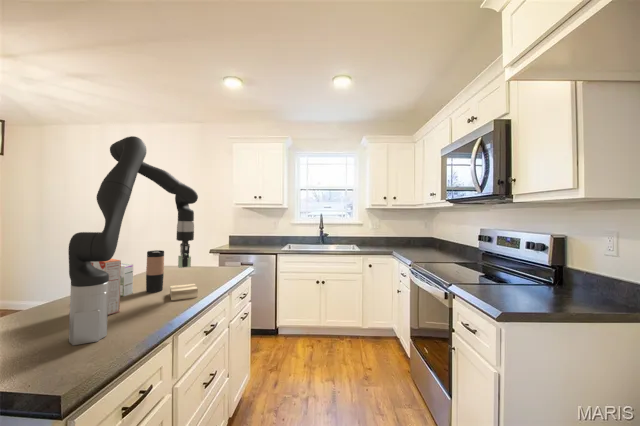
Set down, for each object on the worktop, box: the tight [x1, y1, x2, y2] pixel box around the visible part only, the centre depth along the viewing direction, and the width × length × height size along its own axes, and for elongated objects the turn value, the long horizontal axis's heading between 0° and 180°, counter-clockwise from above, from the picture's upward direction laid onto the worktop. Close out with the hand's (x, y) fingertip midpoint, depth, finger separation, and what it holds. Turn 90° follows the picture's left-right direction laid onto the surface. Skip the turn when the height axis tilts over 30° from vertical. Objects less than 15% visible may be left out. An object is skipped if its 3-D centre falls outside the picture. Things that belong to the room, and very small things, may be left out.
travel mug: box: [145, 249, 165, 294], centre depth 140 cm, size 8×8×20 cm
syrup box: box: [120, 263, 134, 297], centre depth 132 cm, size 6×6×14 cm
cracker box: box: [91, 258, 122, 316], centre depth 110 cm, size 14×6×21 cm, turn 62°
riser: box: [169, 283, 199, 301], centre depth 133 cm, size 11×11×4 cm
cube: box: [177, 254, 192, 269], centre depth 133 cm, size 5×5×5 cm
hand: (184, 265), depth 133 cm, fingers closed on cube, 5 cm apart
